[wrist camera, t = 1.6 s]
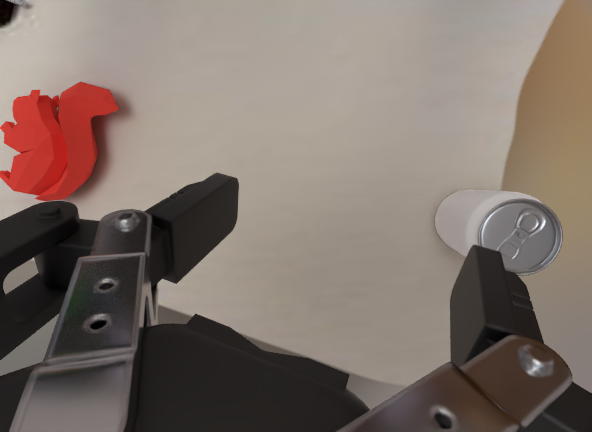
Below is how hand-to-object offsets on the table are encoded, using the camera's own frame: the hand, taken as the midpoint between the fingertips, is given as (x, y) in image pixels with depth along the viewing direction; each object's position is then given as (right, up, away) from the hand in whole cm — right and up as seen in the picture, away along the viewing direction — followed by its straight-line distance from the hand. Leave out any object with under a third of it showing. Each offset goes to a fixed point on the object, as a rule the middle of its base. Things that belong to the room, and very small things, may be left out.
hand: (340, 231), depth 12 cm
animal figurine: (-28, +10, +31) cm, 43 cm away
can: (+16, 0, +26) cm, 30 cm away
